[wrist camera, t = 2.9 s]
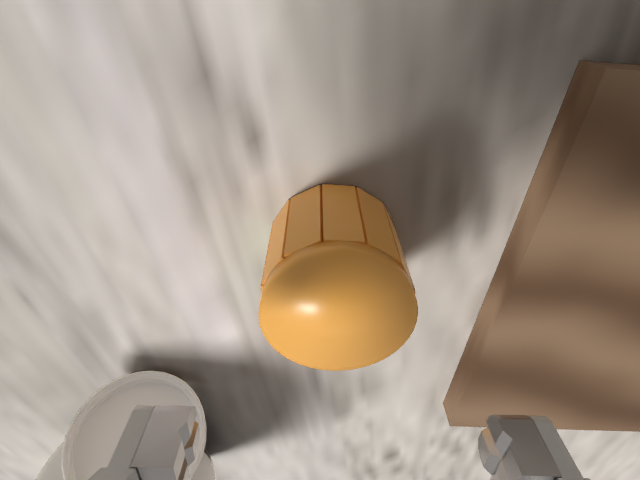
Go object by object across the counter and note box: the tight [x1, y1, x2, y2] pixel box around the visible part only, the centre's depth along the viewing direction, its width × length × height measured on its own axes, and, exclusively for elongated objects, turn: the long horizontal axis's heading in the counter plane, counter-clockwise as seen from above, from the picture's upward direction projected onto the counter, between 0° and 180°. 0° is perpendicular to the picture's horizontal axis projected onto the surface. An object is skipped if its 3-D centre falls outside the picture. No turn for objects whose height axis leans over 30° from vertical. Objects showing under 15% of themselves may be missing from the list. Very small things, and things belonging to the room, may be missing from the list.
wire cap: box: [259, 184, 418, 371], centre depth 15 cm, size 6×6×5 cm
